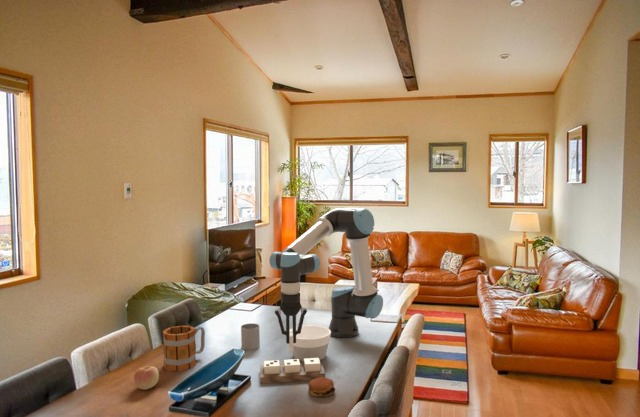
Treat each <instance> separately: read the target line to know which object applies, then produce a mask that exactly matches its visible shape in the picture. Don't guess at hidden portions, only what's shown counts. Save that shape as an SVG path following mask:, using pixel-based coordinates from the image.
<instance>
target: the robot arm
mask: <svg viewBox="0 0 640 417" xmlns="http://www.w3.org/2000/svg"><path fill="white" fill-rule="evenodd" d="M374 229H375V218H374V215H373V213H372V212H371V211H370V210H369V209H367V208H362V207H336V208H333V209H331V210H329V211H327V212H326V213H324V214H323V215H322V216H320V217H318V218H317V220H316V222H315V223H314V224H313V225H312V226H311V227H310V228H309V229H308V230H306V231H305V232H304V233H302V234H301V235H299V237H298V238H297V239H295V240H294V241H293V242H292V243H290V244H289V245H288V246H287V247H285V248H284V249H282V251H274V252H272V253H271V254H270V256H269V266H270V267H271V268H272V269H274V270H275V269H276V270H278V271H280V292H281V293H280V302H281V303H280V305H279V307H278V308H277V309H274V314H275V315H276V317H277V320H278V324H279V327H280V332H281V335H282V336H283V335H285V336H286V337H285V342H286V344H289V345H288V346H289V347H288V348H289V353H293V343H296V335H297V334H300V333H301V329H302V326H303V323H304V320H305V317H306V316H305V315H307V313H308V309H307V308H306V307H305V308H304V307H303V306H302V304H301V293H300V292H301V276H303V275H308V274H312V273H315V272H317V271H319V269H320V267H321V259H320V257H319V256H318V255H317V254H315V253H308V252H309V251H311V250H312V249H313V248H314V247H315V246H316V245H318V244H319V243H320V242H321V241H322V240H324V239H325V238H326V237H329V236H331V235H332V234H334V233H344V234H345V239H347V241H348V242H349V246H350V248H349V249H350V256H351V264H352V272H353V273H352V274H353V280H354V286H341V287H340V286H339V287H336V288H333V289H332V290H331V297H330V299H331V320H330V322H329V326H328V329H329V330H330V331H331V335H330V337H331V336H332V337H335V338H340V339H341V338H343V339H345V338H348V339H349V338H353V337H357V336H358V335H359V326H358V323H357V320H356V317H360V318H361V317H362V318H365V319H371V320H372V319H376V318H378V317H379V315H380V314H381V312H382V310H383V307H384V297H383V296H382V295H380V294H378V288H377V287H375V286H374V282H373V273H372V264H371V256H370V248H369V247H370V246H369V240H368V239H369V238H370V237H371V234H372V232H373V231H374ZM307 253H308V254H307ZM299 312H300V316H299V320H298V326H297V315H298V313H299ZM282 313H283V314H284V315H285V327H284V323H283V319H282V316H281V314H282ZM290 317H292V328H293V334H290V331H289V330H290ZM296 327H298V329H297V330H296ZM285 329H286V330H285Z"/></svg>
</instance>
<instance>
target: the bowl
mask: <svg viewBox="0 0 640 417" xmlns="http://www.w3.org/2000/svg"><path fill="white" fill-rule="evenodd" d="M297 329H298V326H296V330H297ZM289 331H290V334H293V327H291V328H289ZM330 339H331V331H330V330H329V327H328V328H327V327H324V326H321V325H313V324H312V325H310V324H308V325H302V329H301V333H300V334H297V335H296V343H293V352H292V354H293V358H294V359H299V362H304V359H306V358H319V361H322V360H323V359H324V358H326V355H327V352H328V348H329V344H330V343H329V342H330Z"/></svg>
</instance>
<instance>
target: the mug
mask: <svg viewBox="0 0 640 417" xmlns="http://www.w3.org/2000/svg"><path fill="white" fill-rule="evenodd" d="M198 331H200V333H201V334H200V348H199V350H196V349H197V344H196V335H197V333H198ZM205 335H206V331H205V328H204V327H203V326H197V327H195V328H194V326H192V325H177V326H170V327H169V326H168V327H167V328H165V329H164V330H162V336H163V346H162V349H163V356H164V357H163V367H164V369H165V370H166V371H169V372H182V371H188V370H190V369H192V368H194V367H195V366H197V360H196V357H197V356H196V355H198V354H201V353H203V351H204V350H205V349H204V348H205V344H206V343H205V338H206V336H205Z"/></svg>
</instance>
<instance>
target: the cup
mask: <svg viewBox="0 0 640 417" xmlns="http://www.w3.org/2000/svg"><path fill="white" fill-rule="evenodd" d="M240 334H241V337H240V340H241V350H243V351H256V350H258V349H260V348H261V346H260V345H261V344H260V343H261V342H260V341H261V339H260V324H257V323H245V324H242V325H241V326H240Z"/></svg>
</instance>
